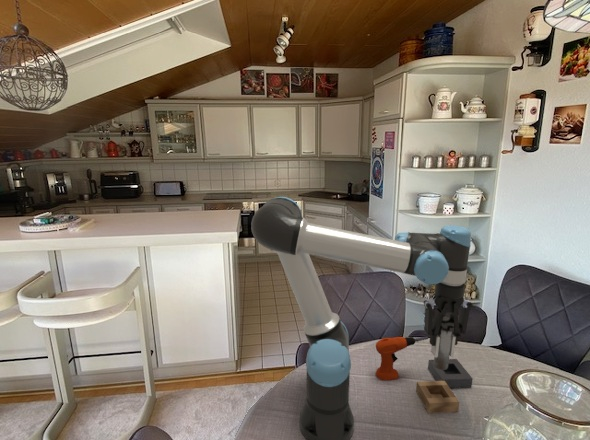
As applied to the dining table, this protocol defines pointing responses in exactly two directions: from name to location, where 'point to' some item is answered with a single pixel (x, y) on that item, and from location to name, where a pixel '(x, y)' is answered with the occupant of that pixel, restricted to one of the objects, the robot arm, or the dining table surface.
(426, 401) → the wooden square frame
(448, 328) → the dark grey tall piece
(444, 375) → the block
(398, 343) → the toy drill
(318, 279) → the robot arm
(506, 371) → the dining table surface
